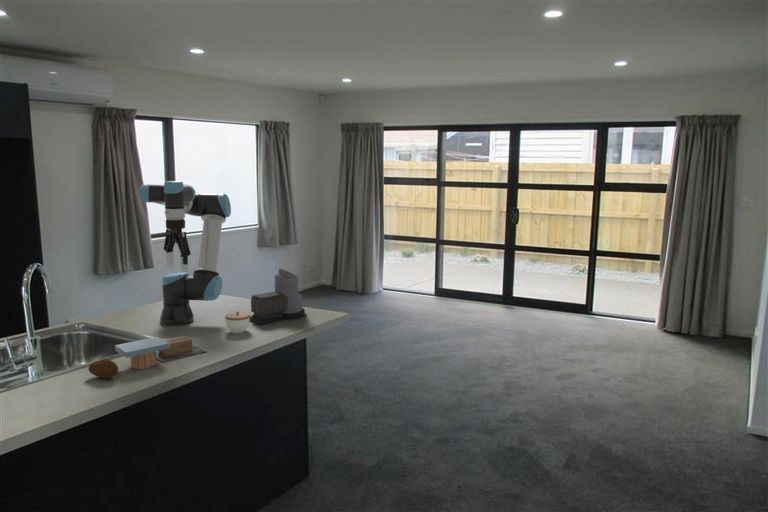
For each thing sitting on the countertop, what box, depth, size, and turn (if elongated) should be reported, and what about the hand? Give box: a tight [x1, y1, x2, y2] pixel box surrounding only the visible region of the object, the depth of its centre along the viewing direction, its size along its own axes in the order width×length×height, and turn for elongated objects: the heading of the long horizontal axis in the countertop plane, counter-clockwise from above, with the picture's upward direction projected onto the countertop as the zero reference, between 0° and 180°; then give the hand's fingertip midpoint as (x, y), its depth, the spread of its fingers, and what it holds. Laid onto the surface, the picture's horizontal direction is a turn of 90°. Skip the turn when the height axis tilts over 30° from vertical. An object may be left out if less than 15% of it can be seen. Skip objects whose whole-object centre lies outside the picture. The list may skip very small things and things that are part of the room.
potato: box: [88, 358, 119, 380], centre depth 199 cm, size 7×12×7 cm, turn 77°
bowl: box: [130, 352, 157, 370], centre depth 212 cm, size 8×8×6 cm
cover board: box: [114, 336, 170, 359], centre depth 212 cm, size 11×16×2 cm
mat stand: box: [156, 335, 207, 363], centre depth 227 cm, size 16×18×5 cm
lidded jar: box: [224, 310, 251, 334], centre depth 255 cm, size 11×11×9 cm
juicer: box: [250, 268, 308, 327], centre depth 278 cm, size 30×16×24 cm, turn 135°
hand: (177, 269), depth 237 cm, fingers open, 13 cm apart
